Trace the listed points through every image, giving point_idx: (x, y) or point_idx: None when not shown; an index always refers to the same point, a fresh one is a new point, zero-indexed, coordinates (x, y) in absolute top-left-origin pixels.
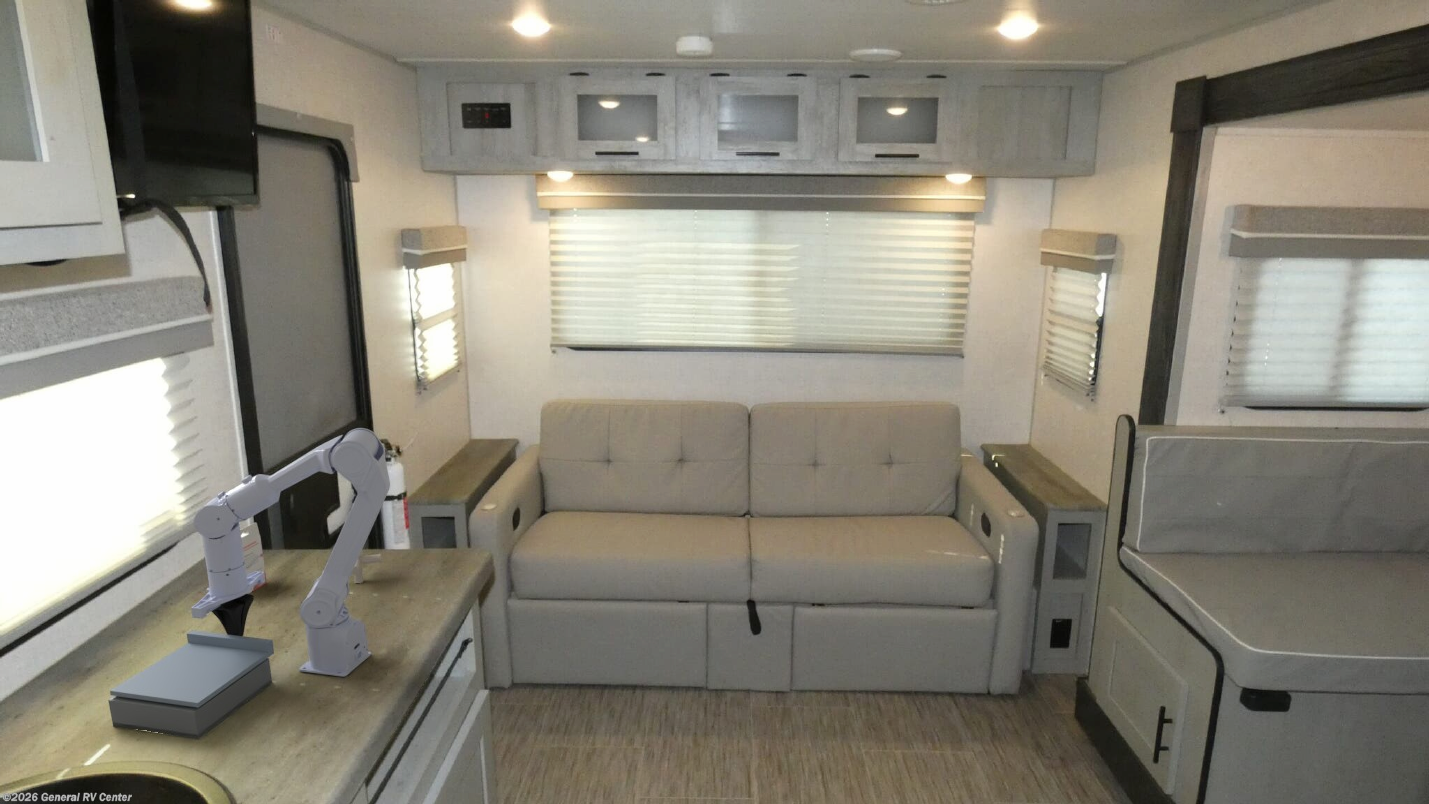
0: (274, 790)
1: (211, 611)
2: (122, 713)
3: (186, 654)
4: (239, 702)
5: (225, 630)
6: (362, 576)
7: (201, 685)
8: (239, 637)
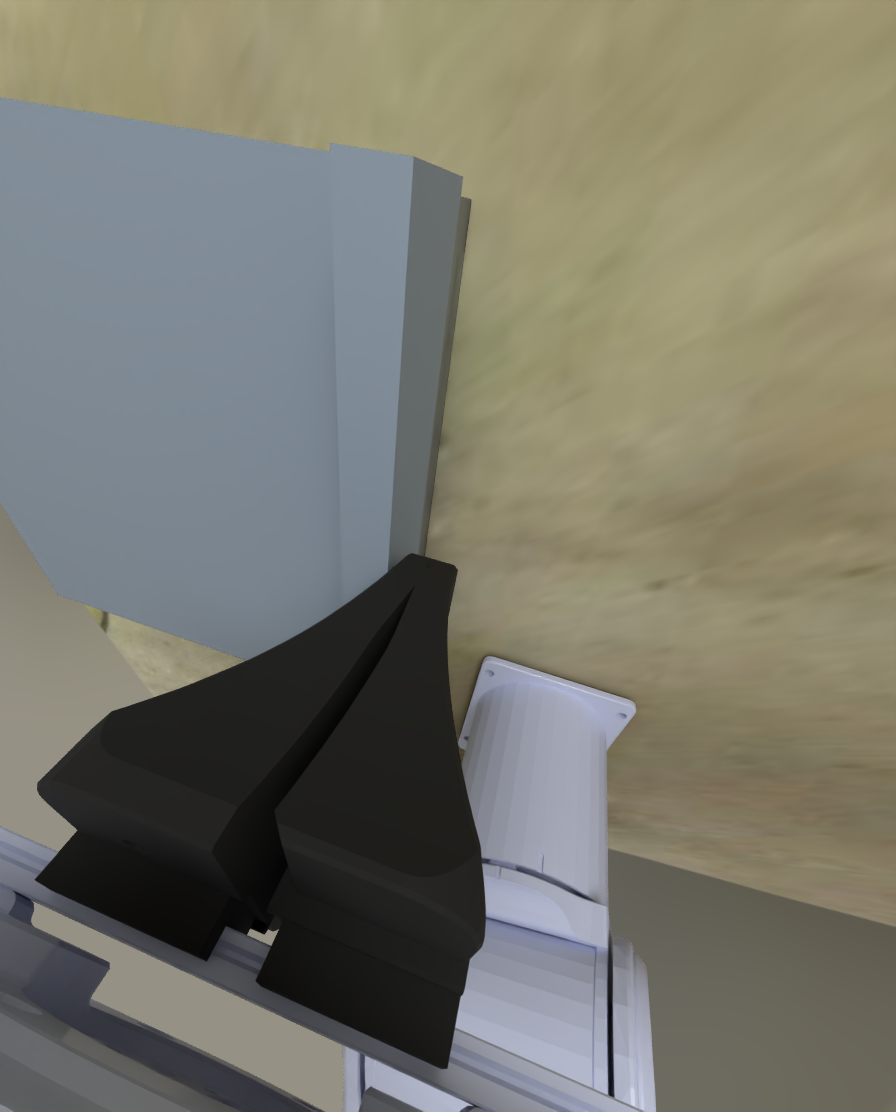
0: (145, 681)
1: (159, 698)
2: None
3: (235, 316)
4: None
5: (379, 579)
6: None
7: (110, 566)
8: None
